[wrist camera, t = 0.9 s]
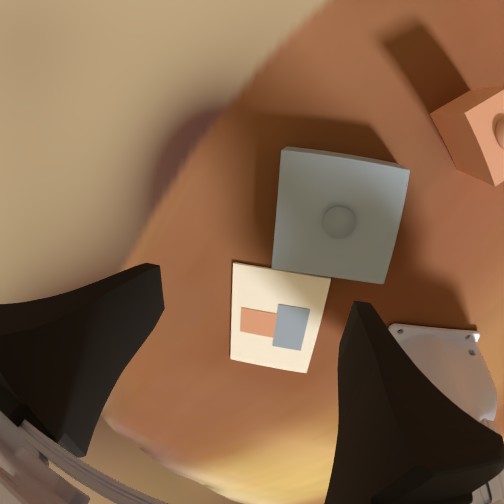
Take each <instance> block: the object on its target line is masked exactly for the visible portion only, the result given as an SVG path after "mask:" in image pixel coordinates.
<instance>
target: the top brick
mask: <svg viewBox="0 0 504 504" xmlns="http://www.w3.org/2000/svg"><path fill="white" fill-rule="evenodd" d="M429 115H430V116H431V118H432V120H433V122H434V124H435V125H436V127H437V129H438V131H439V133H440V135H441V137H442V139H443V141H444V143H445V145H446V147H447V149H448V151H449V153H450V155H451V157H452V159H453V162H454V164H455V166H456V168H457V170H460V171H462V172H465V173H467V174H469V175H471V176H474V177H476V178H478V179H480V180H483V181H485V182H487V183H489V184H491V185H493V186H497V185H498V184H499V183H501V182H502V181H504V86H500V87H491V88H483V89H476V90H470V91H468V92H466V93H465V94H463V95H461V96H459V97H458V98H456V99H454V100H452V101H451V102H449V103H447V104H445V105H444V106H442V107H440V108H439V109H437V110H435V111H433V112H432V113H430V114H429Z"/></svg>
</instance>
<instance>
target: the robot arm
mask: <svg viewBox="0 0 504 504" xmlns="http://www.w3.org/2000/svg"><path fill="white" fill-rule="evenodd" d="M164 309H165V308H164V300H163V291H162V282H161V272H160V265H155V264H150V263H144V264H141V265H138V266H135V267H132V268H129V269H127V270H124V271H122V272H119V273H117V274H115V275H112V276H110V277H107V278H105V279H102V280H100V281H97V282H95V283H92V284H89V285H87V286H84V287H81V288H79V289H76V290H73V291H70V292H67V293H63V294H59V295H56V296H52V297H48V298H43V299H38V300H33V301H28V302H21V303H13V304H0V504H88V502H89V500H90V497H89V496H87V495H86V494H85V493H83V492H81V491H80V490H79V489H77V488H76V487H74V486H73V485H72V484H70V483H69V482H67V481H66V480H65V479H64V478H62V477H61V476H60V475H58V474H57V473H56V472H54V471H53V470H52V469H51V468H49V462H48V460H49V461H50V462H51V463H53V464H54V465H56V466H57V467H58V468H60V469H61V470H62V471H64V472H65V473H67V474H68V475H70V476H71V477H73V478H74V479H76V480H77V481H79V482H80V483H82V484H83V485H85V486H87V487H88V488H90V489H91V490H93V491H95V492H97V493H98V494H100V495H102V496H104V497H105V498H107V499H109V500H111V501H113V502H114V503H116V504H168V503H165V502H163V501H160V500H157V499H155V498H153V497H150V496H148V495H146V494H144V493H141V492H139V491H137V490H135V489H132V488H131V487H128V486H126V485H124V484H122V483H120V482H118V481H116V480H115V479H113V478H111V477H109V476H107V475H105V474H103V473H102V472H100V471H98V470H96V469H95V468H93V467H91V466H89V465H88V464H86V463H84V462H83V461H81V460H80V459H78V458H77V457H84V456H86V453H87V450H88V447H89V444H90V441H91V438H92V435H93V432H94V429H95V426H96V424H97V421H98V419H99V416H100V414H101V412H102V410H103V407H104V405H105V403H106V401H107V399H108V397H109V395H110V393H111V391H112V389H113V387H114V385H115V384H116V382H117V380H118V378H119V376H120V375H121V373H122V372H123V370H124V369H125V367H126V366H127V364H128V363H129V362H130V360H131V359H132V358H133V356H134V355H135V353H136V352H137V351H138V349H139V348H140V347H141V345H142V344H143V343H144V341H145V340H146V339H147V337H148V336H149V335H150V333H151V332H152V330H153V329H154V327H155V326H156V324H157V322H158V320H159V318H160V316H161V314H162V312H163V311H164ZM400 329H402V330H401V331H398V330H400ZM467 335H468V336H467ZM479 337H480V334H479V332H478V331H471V330H458V329H446V328H435V327H425V326H415V325H406V324H397V323H395V324H392V325H390V326H389V328H387V327H386V325H385V324H384V322H383V321H382V319H381V318H380V316H379V315H378V313H377V312H376V310H375V309H374V308H373V306H372V305H371V304H370V303H365V302H359V301H354V302H353V305H352V308H351V311H350V314H349V318H348V321H347V324H346V327H345V330H344V333H343V336H342V338H341V341H340V345H339V357H338V401H339V424H338V436H337V443H336V450H335V457H334V463H333V468H332V473H331V478H330V483H329V487H328V492H327V496H326V500H325V503H324V504H504V442H503V438H502V436H501V435H500V434H499V432H498V429H497V426H496V424H495V422H494V421H493V420H494V418H495V415H496V410H497V391H496V387H495V384H494V382H493V379H492V377H491V375H490V372H489V370H488V368H487V365H486V363H485V361H484V359H483V356H482V354H481V352H480V350H479V348H478V346H477V344H476V342H477V341H478V339H479ZM49 438H50V439H49ZM52 440H53V441H54V442H53V441H52ZM56 443H57V444H56ZM59 445H60V446H61V447H60V446H59ZM63 448H64V449H63ZM66 450H67V451H66ZM69 452H70V453H69ZM72 454H73V455H72ZM75 456H76V457H75Z"/></svg>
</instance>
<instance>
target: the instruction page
mask: <svg viewBox="0 0 504 504" xmlns="http://www.w3.org/2000/svg"><path fill="white" fill-rule="evenodd" d="M330 281H331V278H330V277H323V276H317V275H311V274H304V273H298V272H292V271H285V270H279V269H273V268H267V267H261V266H255V265H249V264H243V263H237V262H234V263H233V283H232V317H231V359H233V360H238V361H242V362H247V363H252V364H257V365H262V366H267V367H272V368H278V369H284V370H289V371H296V372H302V373H306V372H307V369H308V366H309V362H310V359H311V355H312V352H313V348H314V345H315V341H316V337H317V334H318V330H319V326H320V322H321V319H322V315H323V311H324V307H325V303H326V298H327V294H328V290H329V286H330Z"/></svg>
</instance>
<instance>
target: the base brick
mask: <svg viewBox="0 0 504 504" xmlns="http://www.w3.org/2000/svg"><path fill="white" fill-rule="evenodd" d="M409 174H410V170H409V169H407V168H405V167H403V166H401V165H400V164H398V163H393V162H388V161H383V160H378V159H373V158H367V157H362V156H356V155H350V154H343V153H337V152H330V151H323V150H315V149H307V148H298V147H288V146H286V147H285V148H283V149H282V150H281V159H280V173H279V186H278V198H277V211H276V223H275V234H274V246H273V257H272V267H271V268H273V269H279V270H286V271H293V272H300V273H306V274H313V275H320V276H327V277H334V278H341V279H348V280H355V281H362V282H369V283H377V284H384V281H385V278H386V275H387V271H388V268H389V264H390V261H391V257H392V253H393V249H394V245H395V242H396V238H397V233H398V229H399V225H400V220H401V216H402V211H403V206H404V202H405V196H406V191H407V186H408V180H409Z"/></svg>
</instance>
